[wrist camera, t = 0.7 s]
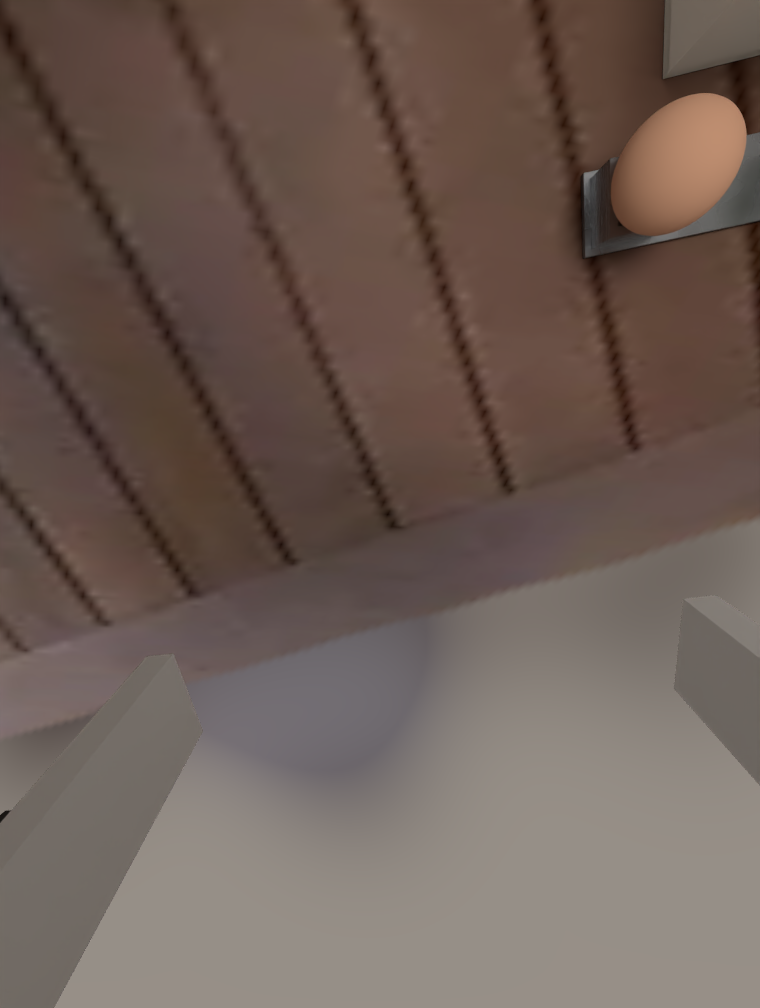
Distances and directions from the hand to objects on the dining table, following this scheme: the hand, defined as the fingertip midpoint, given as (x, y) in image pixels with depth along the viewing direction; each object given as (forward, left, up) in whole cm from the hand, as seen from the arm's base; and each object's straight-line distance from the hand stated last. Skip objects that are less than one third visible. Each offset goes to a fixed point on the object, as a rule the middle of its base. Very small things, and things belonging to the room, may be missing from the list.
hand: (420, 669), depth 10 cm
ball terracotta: (-15, +18, -22) cm, 32 cm away
